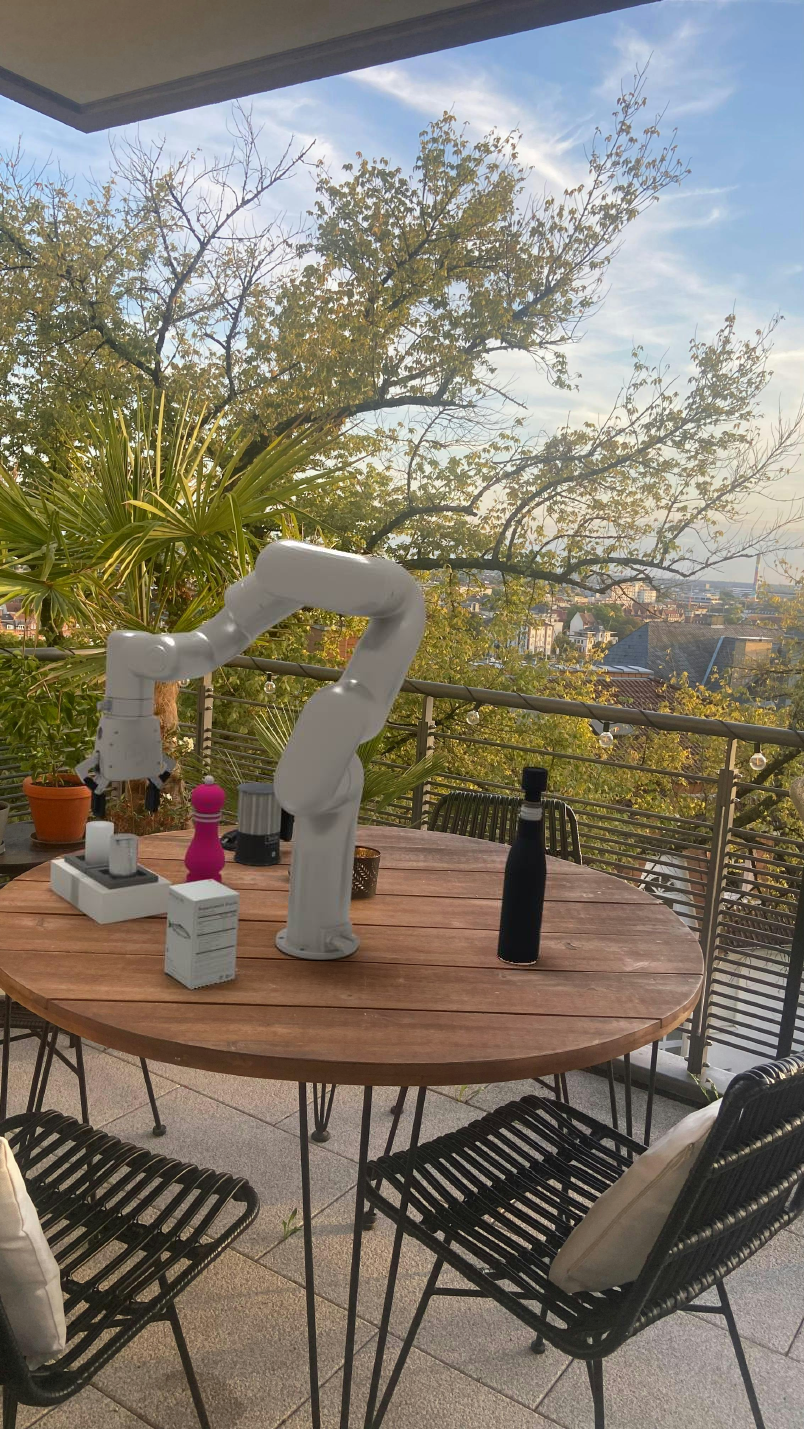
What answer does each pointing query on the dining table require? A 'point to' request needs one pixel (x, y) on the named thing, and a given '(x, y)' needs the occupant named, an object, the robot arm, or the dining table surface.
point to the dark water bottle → (525, 877)
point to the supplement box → (201, 933)
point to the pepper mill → (206, 834)
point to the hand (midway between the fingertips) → (125, 813)
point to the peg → (123, 856)
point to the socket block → (107, 882)
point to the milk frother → (259, 826)
